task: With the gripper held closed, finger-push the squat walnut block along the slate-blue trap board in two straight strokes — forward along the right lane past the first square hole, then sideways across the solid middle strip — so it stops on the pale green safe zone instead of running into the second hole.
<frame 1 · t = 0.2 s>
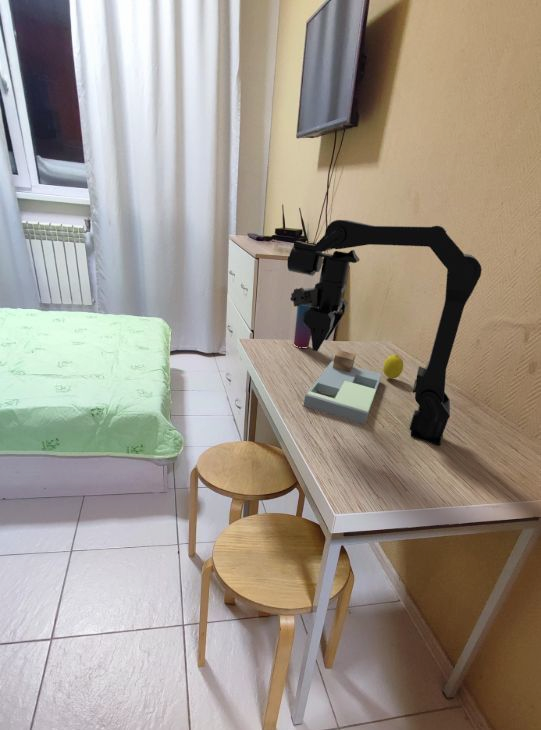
hand: (320, 345, 90), 15 cm above the table, tool pointing down, fingers open, 9 cm apart
cup: (300, 346, 130), on the table
trap board: (345, 391, 102), on the table
block: (342, 367, 111), point 2 cm above the table, touching trap board
lemon: (389, 379, 114), on the table
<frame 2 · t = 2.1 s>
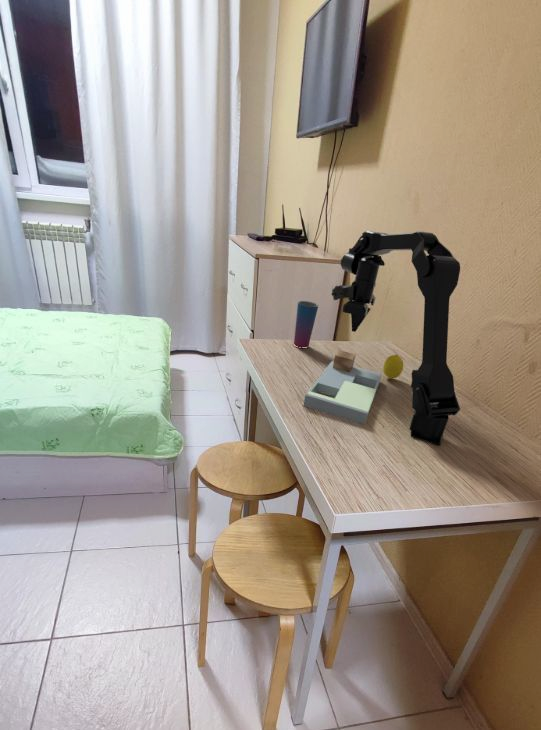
hand: (353, 331, 112), 12 cm above the table, tool pointing down, fingers closed
nothing on the table moved.
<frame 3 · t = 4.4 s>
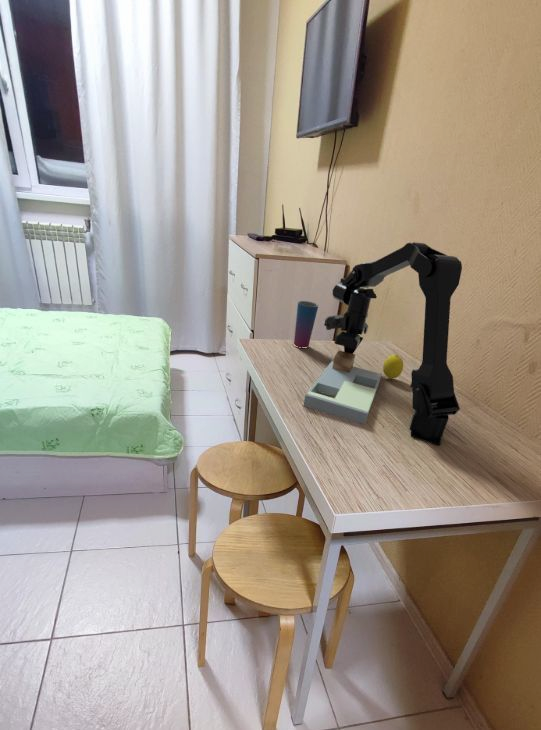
hand: (346, 359, 114), 3 cm above the table, tool pointing down, fingers closed
block: (342, 367, 111), point 3 cm above the table, touching gripper
everything else where it was.
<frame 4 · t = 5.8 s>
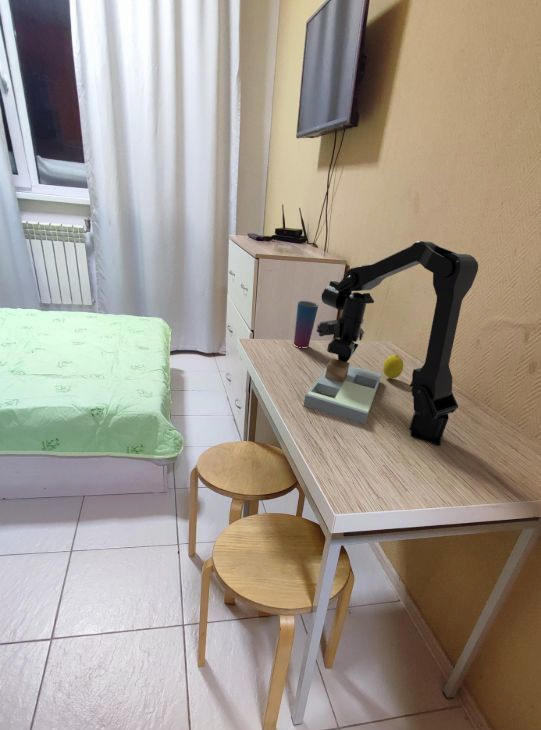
hand: (340, 368, 107), 4 cm above the table, tool pointing down, fingers closed
block: (336, 376, 104), point 3 cm above the table, touching gripper
everything else where it was.
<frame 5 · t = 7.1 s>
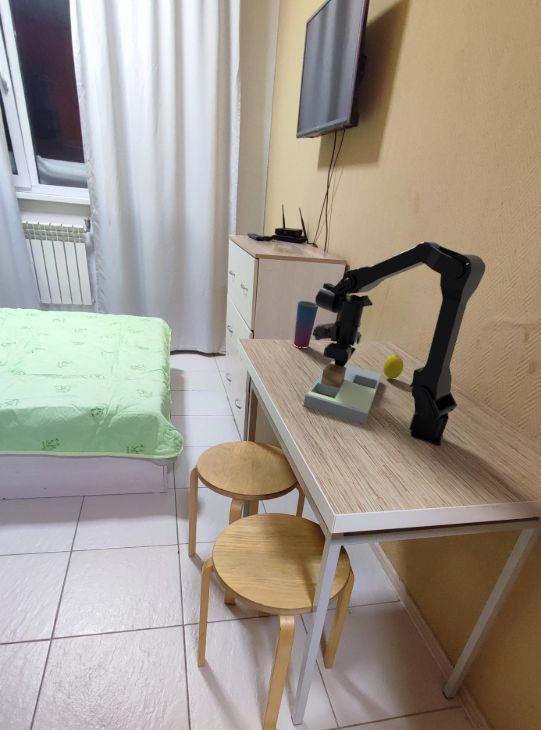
hand: (337, 372, 104), 4 cm above the table, tool pointing down, fingers closed
block: (332, 381, 101), point 2 cm above the table, touching gripper, trap board
everything else where it was.
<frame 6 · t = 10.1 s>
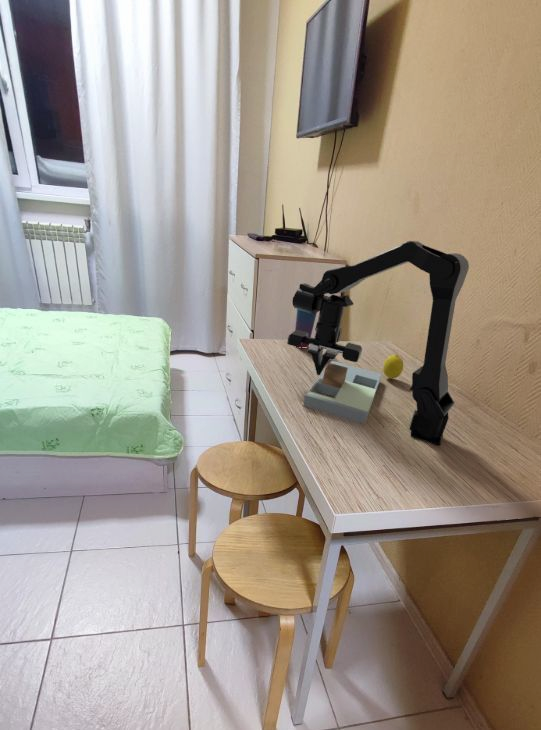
hand: (318, 374, 102), 3 cm above the table, tool pointing down, fingers closed
block: (333, 382, 101), point 3 cm above the table, touching gripper
everything else where it was.
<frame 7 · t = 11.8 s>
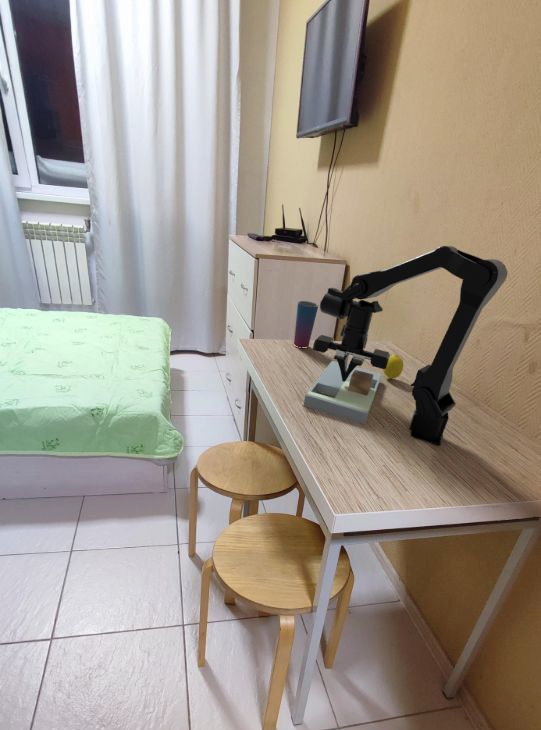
hand: (343, 381, 99), 4 cm above the table, tool pointing down, fingers closed
block: (359, 389, 99), point 2 cm above the table, touching gripper, trap board
everything else where it was.
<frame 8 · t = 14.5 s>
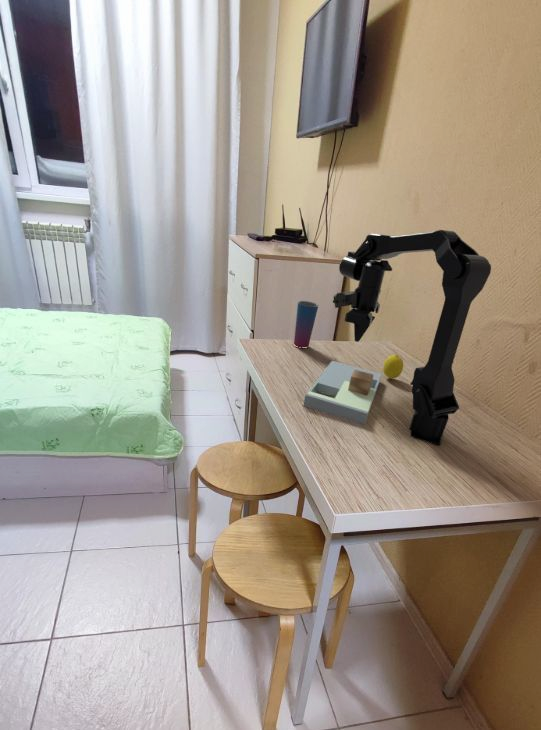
hand: (356, 341, 104), 12 cm above the table, tool pointing down, fingers closed
block: (359, 389, 99), point 2 cm above the table, touching trap board
everything else where it was.
at the end: block inside the target area on the trap board (4.2 cm from its centre), point 2.5 cm above the trap board's base; block tilted 0°; block touching trap board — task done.
